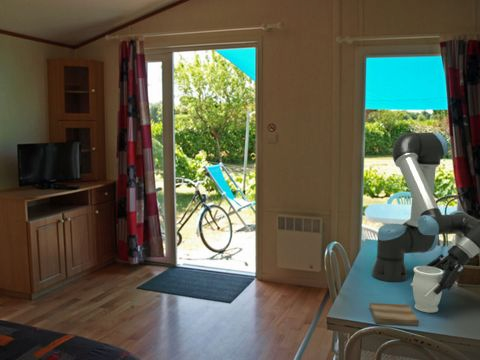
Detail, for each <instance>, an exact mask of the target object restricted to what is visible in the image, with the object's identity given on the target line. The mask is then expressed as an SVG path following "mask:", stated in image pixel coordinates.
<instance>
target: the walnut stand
mask: <svg viewBox="0 0 480 360" xmlns="http://www.w3.org/2000/svg"><path fill="white" fill-rule="evenodd" d="M369 310H370V312H371V315H372V317H373V319H374V322H375V324H376V325H387V326H388V325H389V326H390V325H392V326H408V327H410V326H411V327H419V326H420V325H419V324H420V321H419V319H418V317H417V315H416V314H415V313H414V310H412V308H411V306H410V305H409V304H403V303H401V304H400V303H399V304H398V303H382V302H381V303H378V302H377V303H376V302H369Z"/></svg>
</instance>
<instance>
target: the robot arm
mask: <svg viewBox="0 0 480 360" xmlns="http://www.w3.org/2000/svg"><path fill="white" fill-rule="evenodd" d="M391 152H392V153H391V155H392V160H393V162H394V164H395V166H396V167H397V168H399V170H400V172H401V174H402V177H403V179H404V181H405V183H406V186H407V188H408V190H409V192H410V197H412V198H411V209H410V218H409V219H408V220H407V221H406V224H405V225H404V224H402V223H401V224H400V223H388V224H384V225H381V226H380V227H379V228H378V231H377V247H376V260H375V262H374V265H373V267H372V270H371V274H372V275H371V276H372V277H373V278H375V279H377V280H380V281H383V282H392V283H397V282H398V283H400V282H403V281H404V282H405V281H406V280H408V271H407V267H406V264H405V254H414V253H415V254H417V253H419V254H420V253H421V254H423V253H428V252H429V253H430V252H432V251H433V250H435V249H436V248H437V246H438V244H439V240H440V239H439V237H440V235H456V234H461V235H463V236H462V237H461V238H459V239H458V241H456V242H455V244H453V245H452V246H451V247H450V248H449V249H448V250H447V253H448V254H447V256H444V254H443V253H442V254H440V255H439V256H438V257H437V258H435V259H433V260H432V261H431V262H429V263H428V264H426V265H425V266H430V267H435V268H439V269H441V270H442V271H443V275H442V279H441V282H438V283H439V284H440V285H439V284H438V283H437V284H436V285H435V286H434V287H433V288H432V289H431V290H430V291H429V292H428V293H427V294H426V295H425V297H426V298H427V299H428V300H429V301H431V300H432V299H433V298H435V297H436V296H437V295H438V294H439V293H440V292H441V291H442V292H443V290H448V291H449V290H451V289H452V287H453V286H454V284H455V283H456V281H457V280H458V278H459V276H460V275H461V274H462V273H463V272H464V271H465V268H464V266H466V265H467V264H468V263H469V262H470V261H471V258H472V259H473V258H474V257H475V256H476V255H477V254H478V253H479V252H480V219H477V218H475V217H474V216H472V215H469V213H466V212H464V211H460V210H454V211H452V212H450V213H449V214H442V212H441V210H440V208H439V206H438V203H437V200H436V199H435V197H434V190H435V179H436V170H437V168H438V167H439V166H440V165H441V160H443V159H445V158H446V156H447V155H448V142H447V140H446V139H445V137H444V135H442V134H441V133H438V132H405V133H403V134H401V135H400V136H399V137H397V139H396V140H395V141H394V143H393V146H392V151H391ZM410 286H411V287H412V288H413V281H412V282H411V283H410Z"/></svg>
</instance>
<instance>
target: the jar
mask: <svg viewBox="0 0 480 360" xmlns="http://www.w3.org/2000/svg"><path fill="white" fill-rule="evenodd" d="M413 272H414V275H413V280H412V282H413V287H412V292H413V294H412V295H413V299H414V302H415V304H414V309H416V310H417V311H419V312H422V313H428V314H429V313H430V314H432V313H437V312H438V311H439V307H438V305H439V304H440V301H441V298H442V294H443V290H442V291H441V292H440V293H439V294H438V295H437V296H436V297H435V298H433V299H432V300H431V301H429V300H428V299H427V298H426V297H425V295H426V294H427V293H428V292H429V291H430V290H431V289H432V288H433V287H434V286H435V285H436V284H437V283H438V282H441V279H442V277H443V275H444V270H441V269H439V268H435V267H430V266H426V265H419V266H415V267H414V268H413ZM438 284H439V283H438ZM439 285H440V284H439Z"/></svg>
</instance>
